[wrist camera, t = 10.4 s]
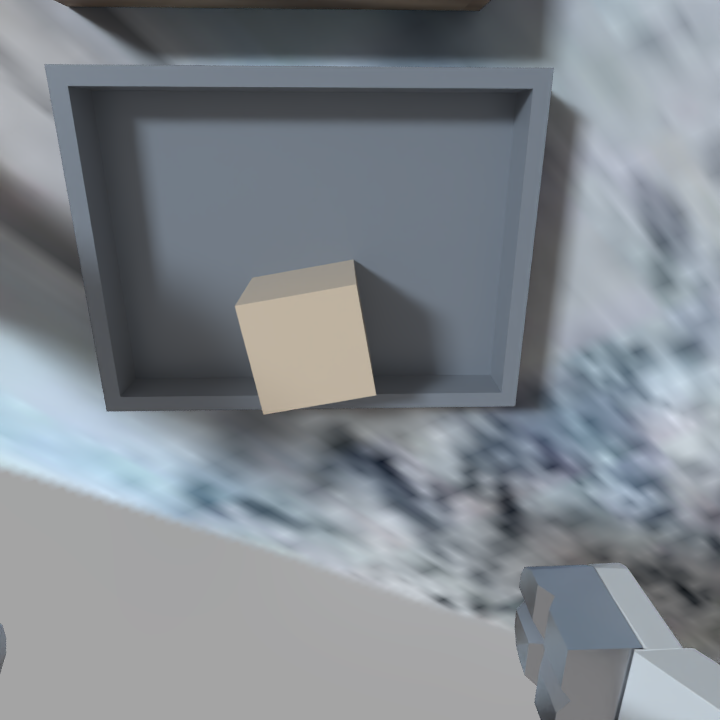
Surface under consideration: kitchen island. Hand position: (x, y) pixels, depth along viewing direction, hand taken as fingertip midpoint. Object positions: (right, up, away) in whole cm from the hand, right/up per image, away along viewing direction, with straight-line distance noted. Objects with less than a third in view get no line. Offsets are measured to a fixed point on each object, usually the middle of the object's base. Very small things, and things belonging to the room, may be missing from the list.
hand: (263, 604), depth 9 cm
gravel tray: (0, +8, +13) cm, 16 cm away
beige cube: (0, +6, +14) cm, 15 cm away
